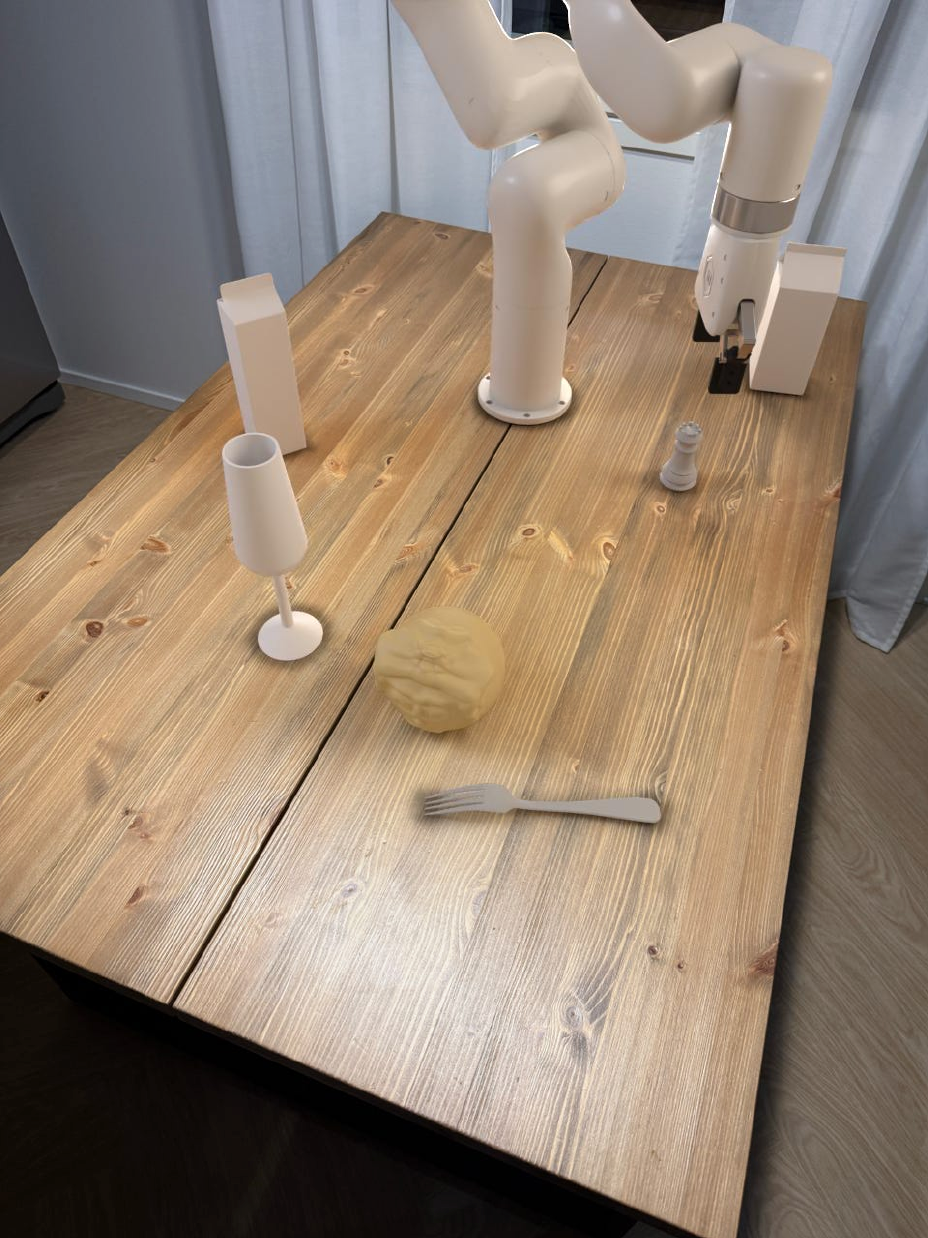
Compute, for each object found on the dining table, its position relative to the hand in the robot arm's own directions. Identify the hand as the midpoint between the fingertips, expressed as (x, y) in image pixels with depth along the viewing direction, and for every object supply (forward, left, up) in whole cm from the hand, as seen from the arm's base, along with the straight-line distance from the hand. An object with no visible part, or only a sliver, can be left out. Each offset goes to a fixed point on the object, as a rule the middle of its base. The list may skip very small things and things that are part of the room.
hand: (714, 365), depth 95 cm
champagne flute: (+24, -45, -17) cm, 53 cm away
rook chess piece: (-1, -1, -17) cm, 17 cm away
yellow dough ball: (+32, -29, -17) cm, 46 cm away
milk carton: (-23, +16, -17) cm, 33 cm away
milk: (-8, -51, -17) cm, 54 cm away
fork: (+44, -20, -17) cm, 51 cm away
